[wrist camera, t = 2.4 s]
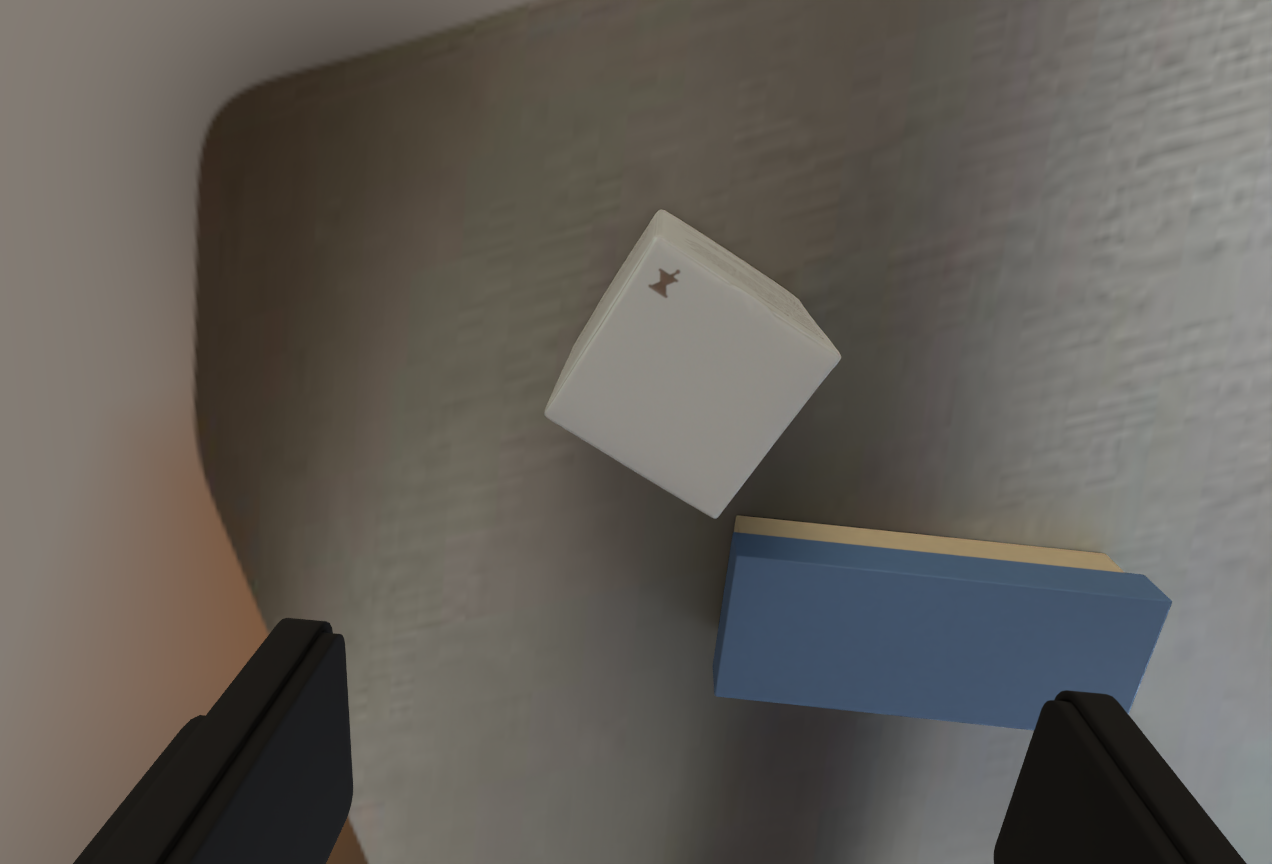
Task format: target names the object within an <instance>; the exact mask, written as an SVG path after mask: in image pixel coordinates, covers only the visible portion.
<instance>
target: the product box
mask: <svg viewBox="0 0 1272 864" xmlns="http://www.w3.org/2000/svg"><path fill="white" fill-rule="evenodd" d="M840 359H841V355H840V353H839V352H838V350H837V349H836V348H835V347H834V345H833V344H832V342H831V341H830V340H829V339H828V337H827V336H826V335H825V334H824V332H823V331H822V330H821V329H820V327H819V326H818V325H817V324H816V322H815V321H814V320H813V319H812V317H811V316H810V315H809V313H808V312H807V310H806V309H805V308H804V306H803V305H802V304H801V302H800V300H799V299H798V298H796V297H795V296H794V295H792V294H791V293H790V292H788V291H787V290H786V289H784V288H783V287H781V286H780V285H779V284H777V283H776V282H774V281H773V280H771V279H770V278H768V277H767V276H765V275H764V274H762V273H761V272H759V271H758V270H756V269H755V268H753V267H752V266H750V265H749V264H747V263H746V262H745V261H743V260H742V259H740V258H739V257H737V256H736V255H734V254H733V253H731V252H730V251H728V250H727V249H725V248H723V247H722V246H720V245H719V244H717V243H716V242H714V241H713V240H711V239H709V238H708V237H706V236H705V235H703V234H702V233H700V232H699V231H697V230H696V229H694V228H692V227H691V226H689V225H688V224H686V223H684V222H683V221H681V220H680V219H678V218H676V217H675V216H673V215H672V214H670V213H668V212H667V211H665V210H662V209H661V210H658V212H657V213H656V214H655V215H654V217H653V218H652V220H651V221H650V223H649V225H648V226H647V228H646V229H645V231H644V232H643V234H642V236H641V237H640V239H639V240H638V242H637V243H636V245H635V246H634V248H633V250H632V251H631V253H630V254H629V256H628V257H627V259H626V260H625V262H624V263H623V265H622V267H621V268H620V270H619V271H618V273H617V275H616V276H615V278H614V279H613V281H612V282H611V284H610V286H609V287H608V289H607V290H606V292H605V294H604V295H603V297H602V299H601V300H600V302H599V304H598V305H597V307H596V309H595V311H594V312H593V314H592V316H591V317H590V319H589V321H588V322H587V324H586V326H585V327H584V329H583V331H582V332H581V334H580V336H579V337H578V339H577V341H576V342H575V344H574V346H573V347H572V350H571V353H570V355H569V357H568V359H567V361H566V363H565V365H564V368H563V370H562V372H561V374H560V376H559V378H558V381H557V383H556V385H555V388H554V390H553V392H552V395H551V397H550V399H549V401H548V404H547V406H546V408H545V412H544V414H545V417H546V418H548V419H549V420H551V421H553V422H554V423H556V424H558V425H559V426H561V427H563V428H564V429H566V430H568V431H569V432H571V433H572V434H574V435H576V436H577V437H579V438H580V439H582V440H584V441H585V442H587V443H589V444H590V445H592V446H593V447H595V448H597V449H598V450H600V451H602V452H603V453H605V454H607V455H608V456H610V457H612V458H613V459H615V460H616V461H618V462H620V463H621V464H623V465H625V466H626V467H628V468H630V469H631V470H633V471H635V472H636V473H638V474H639V475H641V476H643V477H644V478H646V479H648V480H649V481H651V482H653V483H654V484H656V485H658V486H660V487H661V488H663V489H665V490H666V491H668V492H670V493H671V494H673V495H675V496H676V497H678V498H680V499H681V500H683V501H685V502H686V503H688V504H690V505H691V506H693V507H695V508H697V509H698V510H700V511H702V512H703V513H705V514H707V515H708V516H710V517H712V518H714V519H715V518H718V517H719V515H720V514H721V513H722V511H723V510H724V509H725V507H726V506H727V505H728V503H729V502H730V501H731V500H732V498H733V497H734V496H735V494H736V493H737V492H738V490H739V489H740V488H741V486H742V485H743V484H744V483H745V481H746V480H747V479H748V477H749V476H750V475H751V473H752V472H753V471H754V470H755V468H756V467H757V466H758V464H759V463H760V462H761V460H762V459H763V458H764V456H765V455H766V454H767V452H768V451H769V450H770V449H771V447H772V446H773V445H774V443H775V442H776V441H777V440H778V438H779V437H780V436H781V434H782V433H783V432H784V431H785V429H786V428H787V427H788V425H789V424H790V423H791V421H792V420H793V419H794V418H795V416H796V415H797V414H798V412H799V411H800V410H801V409H802V407H803V406H804V405H805V403H806V402H807V401H808V400H809V398H810V397H811V396H812V394H813V393H814V392H815V390H816V389H817V388H818V387H819V385H820V384H821V383H822V382H823V380H824V379H825V378H826V377H827V375H828V374H829V373H830V372H831V370H832V369H833V368H834V367H835V366H836V365H837V363H838V362H839V361H840Z"/></svg>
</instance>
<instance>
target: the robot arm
mask: <svg viewBox="0 0 1272 864" xmlns="http://www.w3.org/2000/svg"><path fill="white" fill-rule="evenodd" d="M352 796H353V777H352V759H351V741H350V724H349V706H348V689H347V671H346V653H345V641H344V637H343V635H341V634H333V632H332V627H331V625H330V623H328V622H326V621H315V620H304V619H293V618H285V619H282V620H281V621H280V622H279V623H278V624H277V625H276V627H275V628H274V629H273V630H272V632H271V633H270V634H269V635H268V637H267V638H266V639H265V641H264V642H263V643H262V644H261V646H260V647H259V648H258V650H257V651H256V652H255V654H254V655H253V656H252V657H251V658H250V660H249V661H248V662H247V664H246V665H245V666H244V667H243V669H242V670H241V671H240V673H239V674H238V675H237V676H236V678H235V679H234V680H233V681H232V683H231V684H230V685H229V687H228V688H227V689H226V690H225V692H224V693H223V694H222V696H221V697H220V698H219V700H218V701H217V702H216V703H215V705H214V706H213V707H212V708H211V710H210V711H209V712H208V713H207V715H206V716H202V715H199V716H197V717H195V718H193V719H191V720H190V721H189V722H188V723H187V724H186V725H185V726H184V727H183V728H182V729H181V730H180V731H179V733H178V734H177V735H176V737H175V738H174V739H173V740H172V741H171V743H170V744H169V745H168V747H167V748H166V749H165V750H164V752H163V753H162V754H161V755H160V756H159V757H158V759H157V760H156V761H155V762H154V764H153V765H152V766H151V767H150V769H149V770H148V771H147V772H146V774H145V775H144V776H143V777H142V779H141V780H140V781H139V782H138V784H137V785H136V786H135V787H134V789H133V790H132V791H131V792H130V794H129V795H128V796H127V797H126V799H125V800H124V801H123V802H122V803H121V805H120V806H119V807H118V808H117V810H116V811H115V812H114V813H113V815H112V816H111V817H110V818H109V819H108V821H107V822H106V823H105V825H104V826H103V827H102V828H101V829H100V831H99V832H98V833H97V835H96V836H95V837H94V838H93V839H92V841H91V842H90V843H89V844H88V846H87V847H86V848H85V849H84V850H83V852H82V853H81V855H80V856H79V857H78V858H77V859H76V860H75V862H74V863H73V864H326V862H327V860H328V858H329V856H330V853H331V851H332V849H333V847H334V845H335V843H336V840H337V838H338V836H339V834H340V832H341V830H342V827H343V825H344V823H345V821H346V819H347V816H348V813H349V810H350V807H351V802H352ZM994 864H1246V863H1245V861H1244V860H1243V859H1242V858H1241V856H1240V855H1239V854H1238V852H1237V851H1236V850H1235V849H1234V847H1233V846H1232V845H1231V844H1230V842H1229V841H1228V840H1227V839H1226V837H1225V836H1224V835H1223V834H1222V832H1221V831H1220V830H1219V828H1218V827H1217V826H1216V825H1215V823H1214V822H1213V821H1212V820H1211V818H1210V817H1209V816H1208V815H1207V813H1206V812H1205V811H1204V810H1203V808H1202V807H1201V806H1200V804H1199V803H1198V802H1197V801H1196V799H1195V798H1194V797H1193V796H1192V794H1191V793H1190V792H1189V791H1188V789H1187V788H1186V787H1185V786H1184V784H1183V783H1182V782H1181V780H1180V779H1179V778H1178V777H1177V775H1176V774H1175V773H1174V772H1173V770H1172V769H1171V768H1170V767H1169V765H1168V764H1167V763H1166V762H1165V760H1164V759H1163V758H1162V756H1161V755H1160V754H1159V753H1158V751H1157V750H1156V749H1155V748H1154V746H1153V745H1152V744H1151V743H1150V741H1149V740H1148V739H1147V738H1146V736H1145V735H1144V734H1143V733H1142V731H1141V730H1140V729H1139V727H1138V726H1137V725H1136V724H1135V722H1134V721H1133V720H1132V719H1131V717H1130V716H1129V715H1128V714H1127V712H1126V711H1125V710H1124V709H1123V707H1122V706H1121V705H1120V703H1119V702H1118V701H1117V700H1116V699H1115V698H1114V697H1113V696H1110V695H1108V694H1101V693H1090V692H1079V691H1069V690H1065V691H1061V692H1060V693H1059V694H1058V695H1057V696H1056V698H1055V700H1049V701H1047V702H1046V703H1044V705H1043V707H1042V709H1041V712H1040V715H1039V718H1038V721H1037V724H1036V727H1035V730H1034V733H1033V736H1032V739H1031V742H1030V744H1029V747H1028V750H1027V753H1026V756H1025V759H1024V762H1023V765H1022V768H1021V771H1020V774H1019V777H1018V780H1017V783H1016V786H1015V789H1014V792H1013V795H1012V798H1011V801H1010V804H1009V807H1008V810H1007V813H1006V816H1005V819H1004V822H1003V824H1002V827H1001V830H1000V833H999V836H998V839H997V842H996V845H995V849H994Z"/></svg>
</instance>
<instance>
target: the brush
mask: <svg viewBox="0 0 1272 864" xmlns="http://www.w3.org/2000/svg"><path fill="white" fill-rule="evenodd" d="M1171 604H1172V601H1171V600H1170V599H1169V598H1168V597H1167V596H1166V595H1165V594H1164V593H1163V592H1162V591H1161V590H1160V589H1159V588H1158V587H1156V586H1155V585H1154V584H1153V583H1152V582H1151V581H1150V580H1149V579H1148V578H1147V577H1146V576H1145V575H1141V574H1132V573H1125V572H1124V571H1123V570H1122V569H1120V568H1119V567H1118V566H1117V565H1116V564H1115V563H1114V562H1113V561H1112V560H1111V559H1110V558H1109V557H1108V556H1107V555H1106V554H1104V553H1094V552H1085V551H1075V550H1065V549H1056V548H1046V547H1037V546H1027V545H1017V544H1008V543H998V542H989V541H979V540H969V539H960V538H950V537H941V536H931V535H921V534H912V533H902V532H893V531H883V530H873V529H864V528H854V527H845V526H835V525H825V524H816V523H806V522H797V521H787V520H777V519H768V518H758V517H749V516H739V515H737V516H736V520H735V527H734V532H733V535H732V542H731V548H730V555H729V562H728V568H727V575H726V581H725V588H724V594H723V601H722V608H721V614H720V621H719V627H718V634H717V640H716V647H715V654H714V660H713V679H714V694H715V696H718V697H727V698H737V699H746V700H755V701H765V702H774V703H783V704H793V705H802V706H811V707H821V708H830V709H839V710H849V711H858V712H867V713H877V714H886V715H895V716H905V717H914V718H923V719H933V720H942V721H951V722H960V723H970V724H979V725H988V726H998V727H1007V728H1016V729H1026V730H1035V727H1036V724H1037V721H1038V718H1039V715H1040V712H1041V709H1042V707H1043V705H1044V703H1046V702H1047V701H1049V700H1055V698H1056V696H1057V695H1058V694H1059V693H1060V692H1061V691H1065V690H1069V691H1079V692H1090V693H1101V694H1108V695H1110V696H1113V697H1114V698H1115V699H1116V700H1117V701H1118V702H1119V703H1120V705H1121V706H1122V707H1123V709H1124V710H1125V711H1126V712H1127V714H1129V712H1130V709H1131V707H1132V704H1133V701H1134V699H1135V696H1136V694H1137V691H1138V689H1139V686H1140V684H1141V681H1142V678H1143V676H1144V673H1145V671H1146V668H1147V666H1148V663H1149V660H1150V658H1151V655H1152V653H1153V650H1154V648H1155V645H1156V643H1157V640H1158V637H1159V635H1160V632H1161V630H1162V627H1163V625H1164V622H1165V619H1166V617H1167V614H1168V612H1169V609H1170V607H1171Z"/></svg>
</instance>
